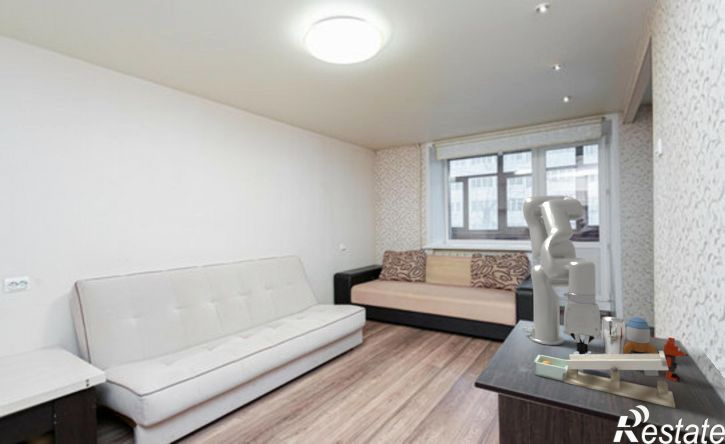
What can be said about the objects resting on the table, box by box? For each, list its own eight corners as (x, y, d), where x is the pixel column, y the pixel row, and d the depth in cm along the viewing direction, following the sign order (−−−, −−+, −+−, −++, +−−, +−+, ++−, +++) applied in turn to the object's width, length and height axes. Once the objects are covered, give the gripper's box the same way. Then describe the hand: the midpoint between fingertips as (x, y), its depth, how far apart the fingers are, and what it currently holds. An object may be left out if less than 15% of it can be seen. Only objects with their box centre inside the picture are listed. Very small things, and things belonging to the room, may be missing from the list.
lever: (570, 375, 110) (566, 357, 111) (576, 360, 122) (572, 344, 123) (670, 377, 96) (665, 357, 97) (666, 359, 108) (661, 342, 109)
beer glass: (630, 366, 121) (630, 322, 121) (607, 365, 122) (607, 321, 122) (619, 358, 128) (619, 316, 128) (598, 357, 129) (598, 316, 129)
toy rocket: (626, 351, 137) (637, 314, 136) (660, 365, 128) (672, 325, 127) (615, 353, 132) (625, 314, 130) (649, 368, 123) (661, 326, 122)
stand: (563, 382, 110) (563, 357, 110) (567, 371, 118) (567, 348, 118) (675, 408, 94) (675, 380, 94) (671, 393, 102) (671, 367, 102)
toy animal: (686, 386, 107) (686, 346, 107) (662, 380, 111) (662, 341, 111) (688, 377, 112) (688, 339, 112) (666, 372, 116) (666, 335, 116)
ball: (544, 374, 116) (538, 364, 117) (546, 370, 118) (540, 361, 119) (553, 370, 114) (547, 361, 115) (555, 367, 117) (549, 357, 118)
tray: (533, 374, 116) (533, 362, 116) (538, 366, 122) (538, 354, 122) (565, 381, 110) (565, 368, 110) (568, 372, 117) (568, 360, 117)
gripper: (554, 297, 119) (554, 353, 119) (609, 303, 110) (609, 363, 110) (558, 294, 125) (558, 346, 125) (610, 299, 116) (610, 355, 116)
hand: (582, 354), depth 118 cm, fingers closed
